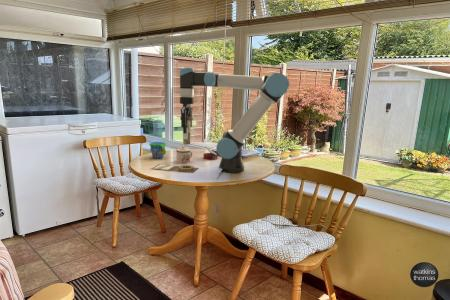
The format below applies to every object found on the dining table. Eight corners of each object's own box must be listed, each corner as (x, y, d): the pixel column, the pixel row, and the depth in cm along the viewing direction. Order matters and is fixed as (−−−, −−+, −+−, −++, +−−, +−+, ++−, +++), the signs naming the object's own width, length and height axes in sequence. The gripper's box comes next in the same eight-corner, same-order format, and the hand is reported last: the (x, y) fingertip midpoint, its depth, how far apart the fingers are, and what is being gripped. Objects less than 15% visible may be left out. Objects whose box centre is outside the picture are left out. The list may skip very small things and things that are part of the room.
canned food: (207, 163, 219) (211, 150, 222) (219, 163, 213) (222, 150, 216) (198, 158, 210) (201, 144, 213) (209, 158, 205) (213, 144, 207)
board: (199, 170, 182) (199, 165, 181) (192, 175, 170) (193, 170, 169) (158, 166, 187) (158, 162, 186) (149, 171, 175) (149, 166, 175)
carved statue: (193, 143, 175) (193, 116, 172) (191, 145, 171) (191, 117, 168) (182, 143, 176) (182, 116, 173) (179, 144, 173) (179, 117, 169)
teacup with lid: (182, 166, 191) (182, 147, 188) (173, 163, 196) (173, 145, 194) (196, 162, 199) (196, 145, 197) (187, 160, 205) (187, 143, 203)
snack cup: (145, 156, 214) (145, 142, 212) (159, 154, 220) (159, 140, 218) (156, 160, 202) (155, 145, 200) (170, 158, 209) (170, 144, 206)
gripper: (185, 96, 177) (185, 135, 182) (174, 96, 161) (175, 140, 166) (197, 96, 176) (197, 136, 180) (188, 97, 159) (188, 141, 164)
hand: (186, 138), depth 173 cm, fingers closed on carved statue, 4 cm apart
